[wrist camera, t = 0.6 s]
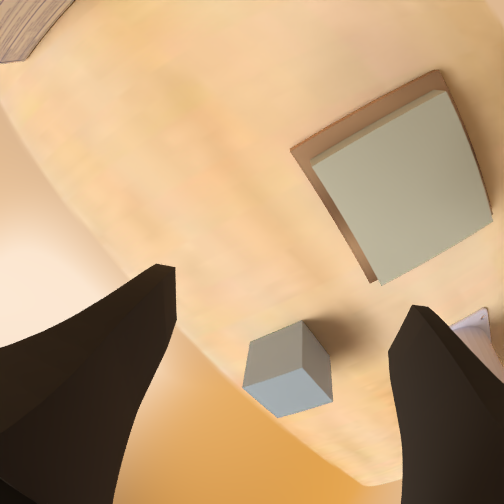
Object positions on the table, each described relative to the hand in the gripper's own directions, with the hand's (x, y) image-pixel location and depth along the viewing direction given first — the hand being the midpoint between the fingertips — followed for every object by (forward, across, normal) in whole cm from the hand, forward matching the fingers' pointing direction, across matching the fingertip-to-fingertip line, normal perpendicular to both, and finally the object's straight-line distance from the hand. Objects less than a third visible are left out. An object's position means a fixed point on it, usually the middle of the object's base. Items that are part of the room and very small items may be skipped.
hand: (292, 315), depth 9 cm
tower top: (+9, -6, -2) cm, 11 cm away
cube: (+10, -2, +12) cm, 16 cm away
